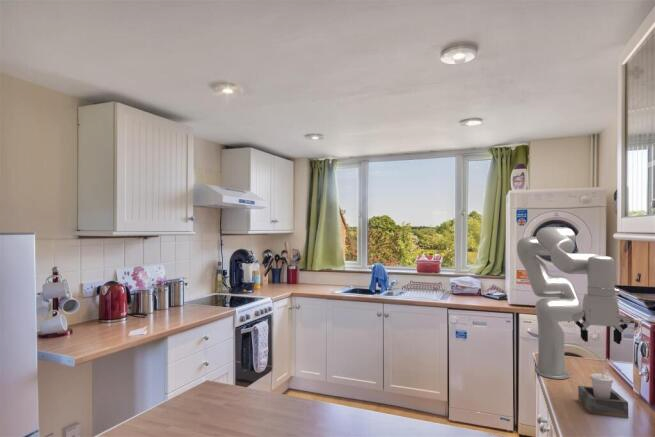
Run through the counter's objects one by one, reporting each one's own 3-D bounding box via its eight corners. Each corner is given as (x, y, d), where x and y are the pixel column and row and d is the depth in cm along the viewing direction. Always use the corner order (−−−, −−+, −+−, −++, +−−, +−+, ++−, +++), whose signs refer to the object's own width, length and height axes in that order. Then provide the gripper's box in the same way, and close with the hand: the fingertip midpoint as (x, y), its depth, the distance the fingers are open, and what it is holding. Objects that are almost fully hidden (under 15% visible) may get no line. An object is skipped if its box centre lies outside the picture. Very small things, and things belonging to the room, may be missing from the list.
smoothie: (617, 410, 126) (617, 368, 126) (596, 408, 127) (595, 366, 127) (607, 401, 132) (606, 361, 132) (586, 400, 133) (586, 360, 133)
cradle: (578, 399, 136) (578, 385, 136) (612, 403, 133) (612, 388, 133) (591, 414, 125) (591, 398, 125) (628, 418, 123) (628, 402, 123)
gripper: (624, 291, 132) (624, 340, 132) (568, 288, 136) (568, 336, 136) (635, 295, 124) (636, 347, 124) (576, 292, 128) (576, 343, 128)
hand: (600, 341), depth 130 cm, fingers open, 9 cm apart
